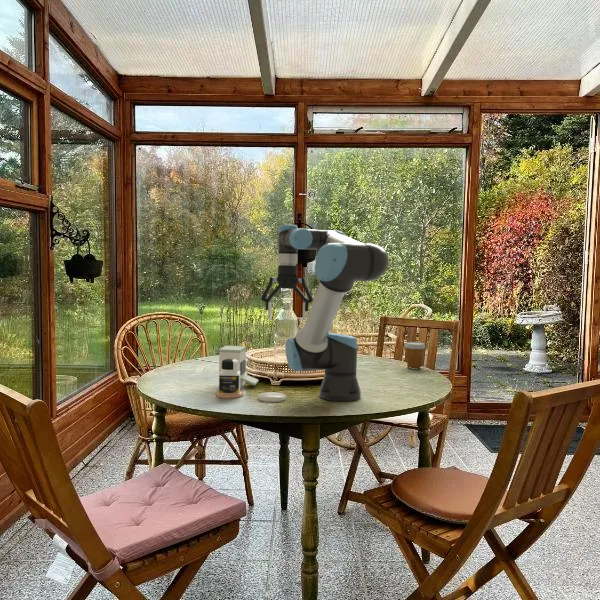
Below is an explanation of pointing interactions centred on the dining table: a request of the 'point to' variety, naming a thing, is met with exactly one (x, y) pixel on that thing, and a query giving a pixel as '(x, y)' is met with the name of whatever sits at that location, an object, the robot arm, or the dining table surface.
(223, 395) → the peach round disc
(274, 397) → the white domed round part
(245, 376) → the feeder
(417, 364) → the disposable coffee cup
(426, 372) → the dining table surface
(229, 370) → the medicine bottle
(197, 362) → the dining table surface
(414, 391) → the dining table surface
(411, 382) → the dining table surface
